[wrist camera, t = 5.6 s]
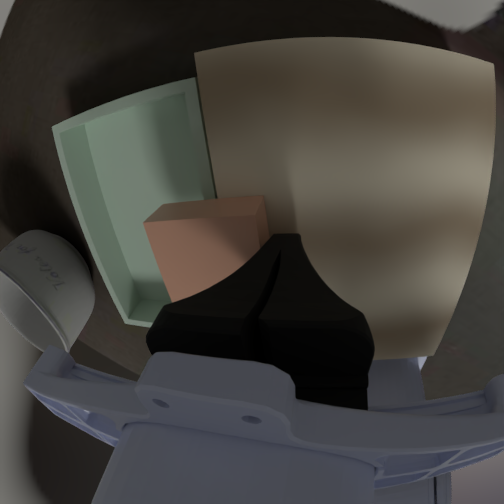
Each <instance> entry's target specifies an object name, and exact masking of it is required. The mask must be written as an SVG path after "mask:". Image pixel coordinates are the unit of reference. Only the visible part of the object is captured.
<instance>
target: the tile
mask: <svg viewBox="0 0 504 504" xmlns="http://www.w3.org/2000/svg"><path fill="white" fill-rule="evenodd" d="M143 225H144V228H145V231H146V234H147V237H148V240H149V243H150V245H151V248H152V251H153V254H154V257H155V259H156V262H157V265H158V267H159V270H160V273H161V275H162V278H163V281H164V283H165V286H166V288H167V291H168V293H169V296H170V298H171V301H172V303H173V302H176V301H179V300H181V299H184V298H187V297H190V296H192V295H194V294H197V293H199V292H201V291H203V290H205V289H207V288H209V287H211V286H213V285H214V284H216V283H218V282H220V281H221V280H223V279H225V278H226V277H228V276H229V275H231V274H232V273H234V272H235V271H236V270H238V269H239V268H240V267H241V266H243V265H244V264H245V263H246V262H247V261H248V260H249V259H250V258H251V257H252V256H253V255H254V254H255V253H256V252H257V251H258V250H259V249H260V248H261V247H262V246H263V245H264V244H265V243H266V242H267V241H268V239H269V238H270V237H269V229H268V222H267V215H266V207H265V200H264V195H262V196H246V197H232V198H220V199H208V200H197V201H186V202H176V203H167V204H162V205H161V206H160V207H159V208H158V209H157V210H156V211H155V212H154V213H153V214H151V215H150V216H149V217H148V218H147V219H146V220H145V221H144V222H143Z"/></svg>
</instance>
